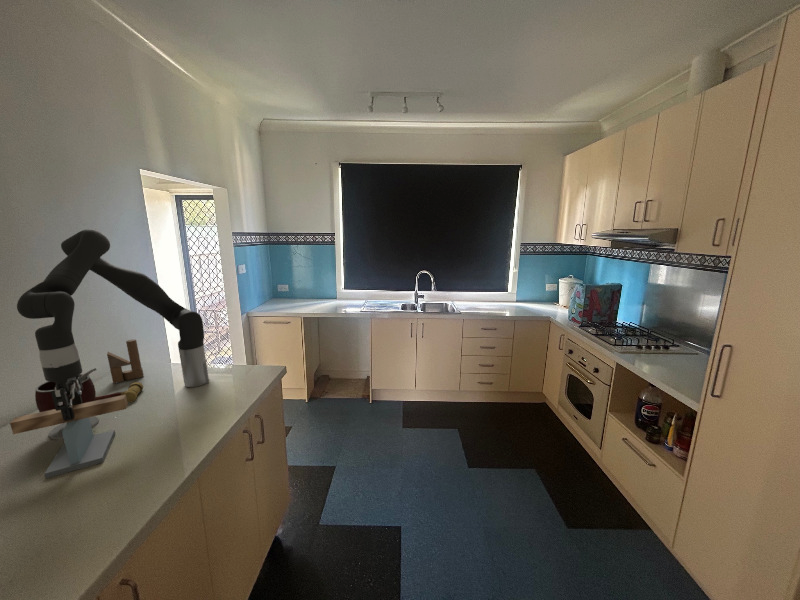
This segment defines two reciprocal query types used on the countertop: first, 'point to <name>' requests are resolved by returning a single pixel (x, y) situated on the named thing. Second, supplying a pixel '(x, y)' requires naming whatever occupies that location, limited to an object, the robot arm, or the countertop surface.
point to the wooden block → (117, 362)
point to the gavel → (126, 392)
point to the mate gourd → (46, 402)
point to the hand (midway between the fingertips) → (73, 413)
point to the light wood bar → (56, 418)
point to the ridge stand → (80, 448)
